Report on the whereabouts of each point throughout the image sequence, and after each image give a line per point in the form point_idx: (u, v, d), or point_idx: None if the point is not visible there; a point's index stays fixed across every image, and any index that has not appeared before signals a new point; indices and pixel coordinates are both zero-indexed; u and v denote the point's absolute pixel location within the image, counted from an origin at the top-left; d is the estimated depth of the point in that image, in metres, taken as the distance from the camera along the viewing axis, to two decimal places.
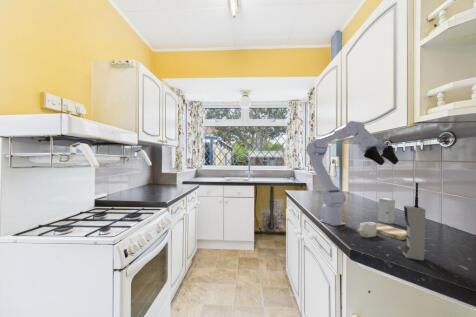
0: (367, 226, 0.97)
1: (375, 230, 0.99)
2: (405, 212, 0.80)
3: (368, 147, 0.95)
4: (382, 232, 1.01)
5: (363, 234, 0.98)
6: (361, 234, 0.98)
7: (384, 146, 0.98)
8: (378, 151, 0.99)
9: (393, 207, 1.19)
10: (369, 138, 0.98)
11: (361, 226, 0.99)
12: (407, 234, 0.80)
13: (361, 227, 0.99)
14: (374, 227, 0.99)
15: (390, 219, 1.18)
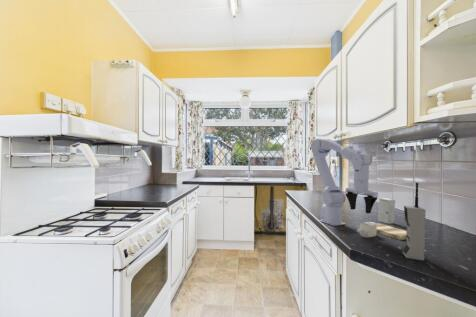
0: (367, 226, 0.97)
1: (375, 230, 0.99)
2: (405, 212, 0.80)
3: (350, 190, 1.07)
4: (382, 232, 1.01)
5: (363, 234, 0.98)
6: (361, 234, 0.98)
7: (367, 193, 0.99)
8: None
9: (393, 207, 1.19)
10: None
11: (361, 226, 0.99)
12: (407, 234, 0.80)
13: (361, 227, 0.99)
14: (374, 227, 0.99)
15: (390, 219, 1.18)
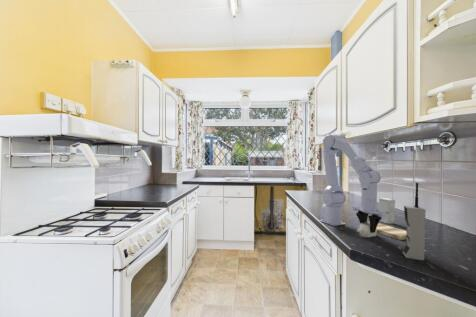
0: (367, 226, 0.97)
1: None
2: (405, 212, 0.80)
3: (357, 208, 1.04)
4: (382, 232, 1.01)
5: (363, 234, 0.98)
6: (361, 234, 0.98)
7: (376, 213, 0.96)
8: None
9: (393, 207, 1.19)
10: (361, 201, 1.01)
11: (361, 226, 0.99)
12: (407, 234, 0.80)
13: (361, 227, 0.99)
14: None
15: (390, 219, 1.18)
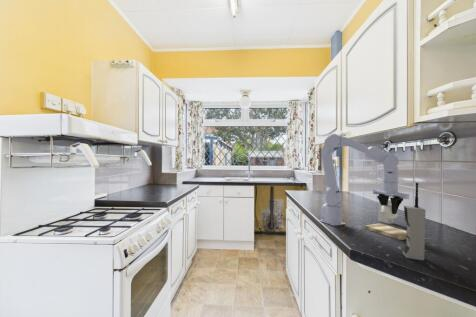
0: (389, 208, 1.01)
1: None
2: (405, 212, 0.80)
3: (378, 192, 1.08)
4: (382, 232, 1.01)
5: (385, 215, 1.02)
6: (383, 215, 1.02)
7: (398, 195, 0.99)
8: None
9: None
10: None
11: (383, 208, 1.02)
12: (407, 234, 0.80)
13: (383, 209, 1.02)
14: None
15: (390, 219, 1.18)
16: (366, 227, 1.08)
